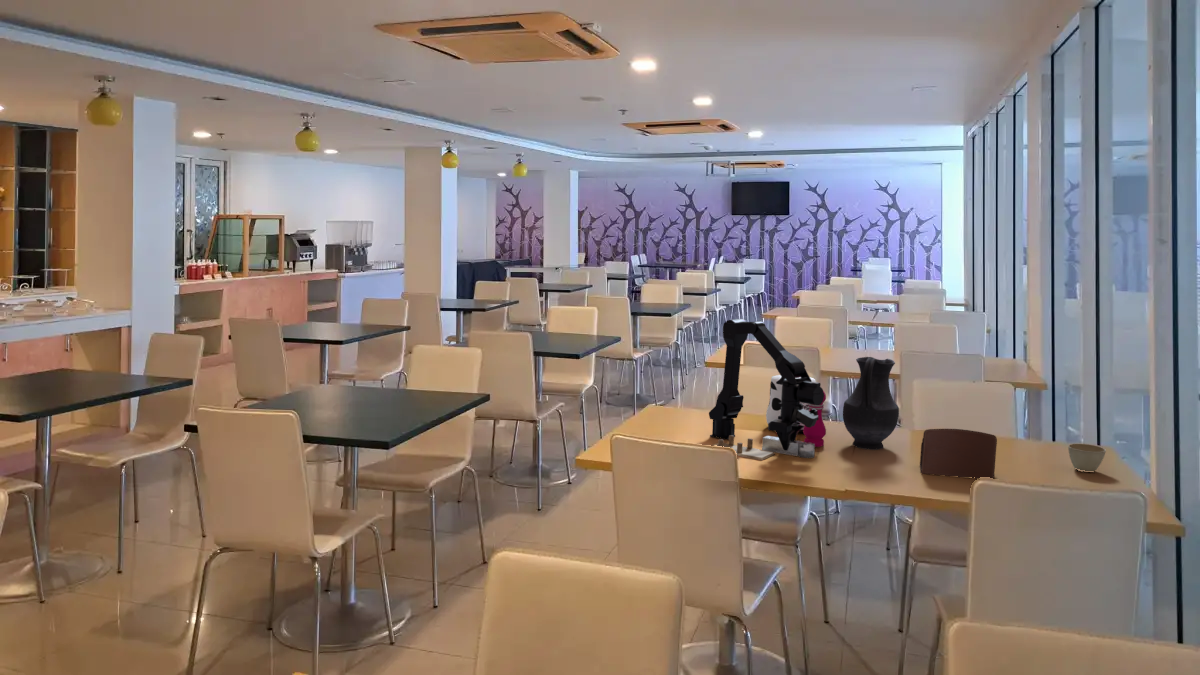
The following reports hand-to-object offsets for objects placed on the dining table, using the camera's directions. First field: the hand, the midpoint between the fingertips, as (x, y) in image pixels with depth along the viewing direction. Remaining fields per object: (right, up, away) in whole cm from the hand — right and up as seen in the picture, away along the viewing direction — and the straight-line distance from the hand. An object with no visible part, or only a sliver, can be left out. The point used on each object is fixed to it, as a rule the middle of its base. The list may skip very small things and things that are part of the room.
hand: (788, 449), depth 291 cm
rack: (-15, -1, 0) cm, 15 cm away
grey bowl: (+86, -5, -12) cm, 87 cm away
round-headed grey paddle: (0, -1, 0) cm, 1 cm away
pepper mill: (+11, 0, +12) cm, 16 cm away
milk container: (+8, +3, +34) cm, 35 cm away
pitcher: (+28, -1, +10) cm, 29 cm away
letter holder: (+45, -5, -18) cm, 49 cm away
